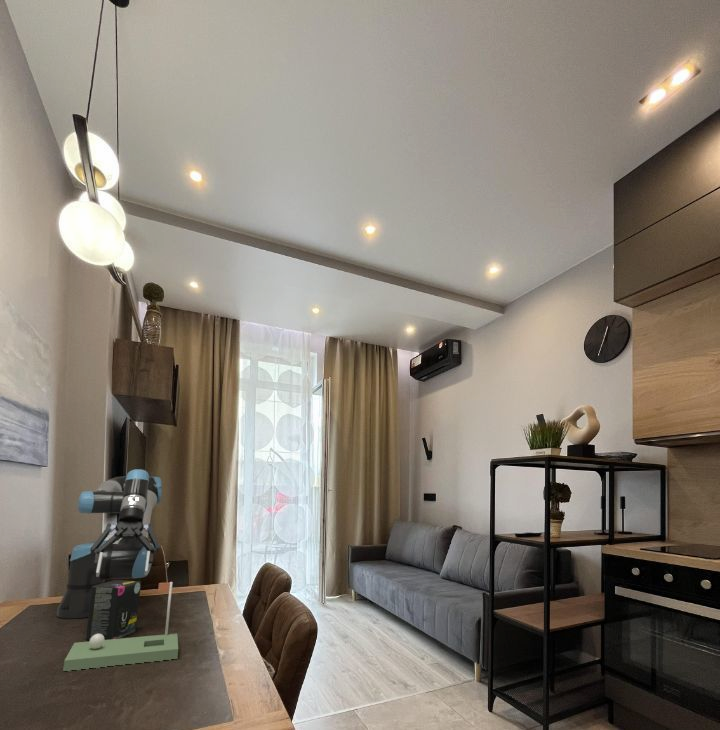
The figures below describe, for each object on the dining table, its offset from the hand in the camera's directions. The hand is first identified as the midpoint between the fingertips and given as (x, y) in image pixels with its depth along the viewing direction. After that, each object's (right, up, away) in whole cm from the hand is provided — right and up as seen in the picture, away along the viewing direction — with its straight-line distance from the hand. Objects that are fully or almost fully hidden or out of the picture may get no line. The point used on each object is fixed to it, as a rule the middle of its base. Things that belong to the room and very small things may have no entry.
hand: (122, 574), depth 149 cm
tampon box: (-1, -16, -5) cm, 17 cm away
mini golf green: (+11, -12, -22) cm, 27 cm away
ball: (+5, -8, -23) cm, 25 cm away
